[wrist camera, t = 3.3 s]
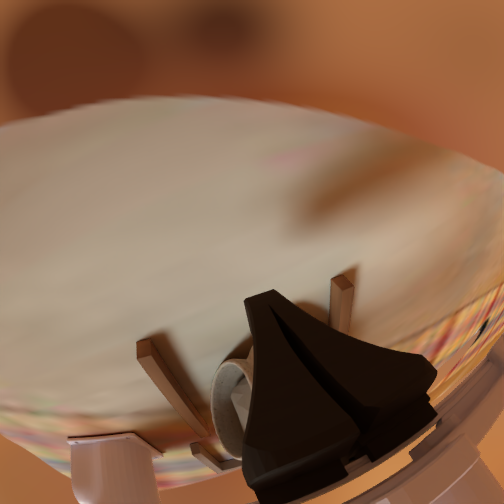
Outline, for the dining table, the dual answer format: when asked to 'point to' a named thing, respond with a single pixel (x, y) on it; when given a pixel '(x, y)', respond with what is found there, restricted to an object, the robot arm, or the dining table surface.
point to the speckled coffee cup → (232, 402)
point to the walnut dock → (174, 394)
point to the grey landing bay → (214, 460)
